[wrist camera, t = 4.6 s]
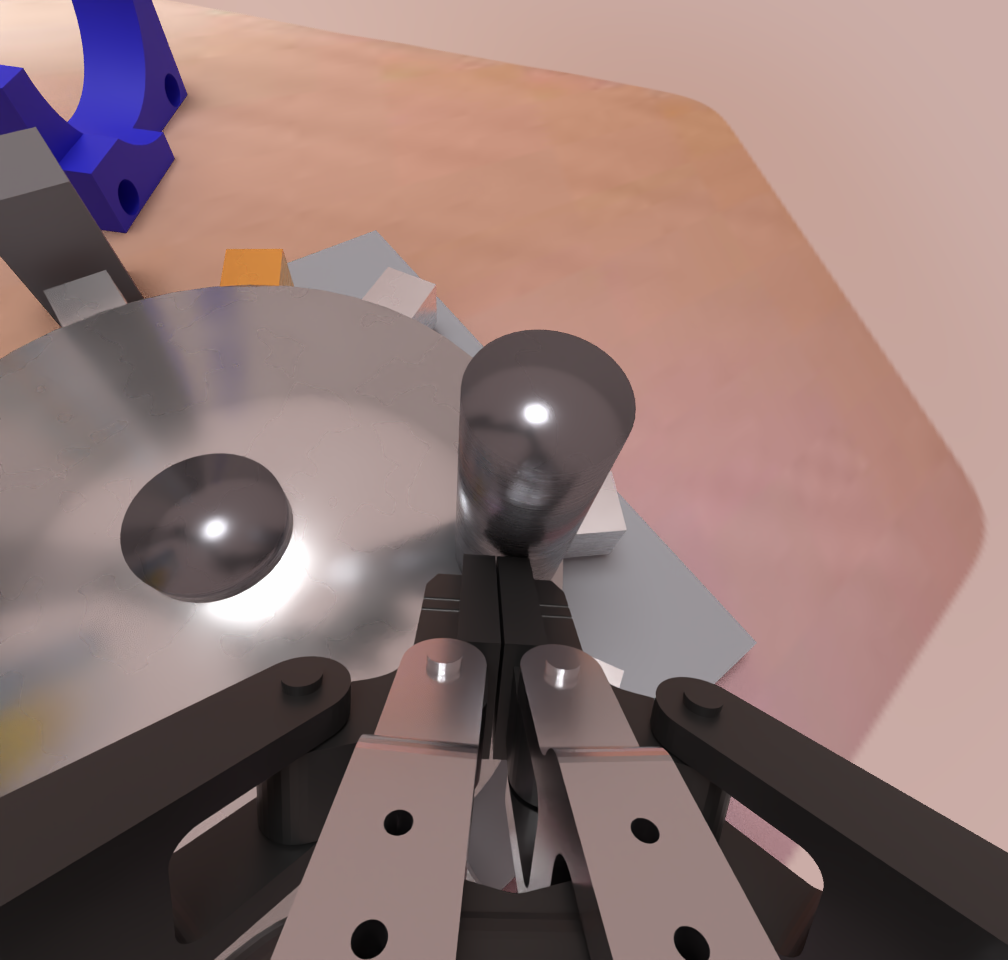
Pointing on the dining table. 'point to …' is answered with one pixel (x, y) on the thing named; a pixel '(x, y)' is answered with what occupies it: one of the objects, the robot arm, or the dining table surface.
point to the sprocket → (268, 493)
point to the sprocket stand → (358, 265)
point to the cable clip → (108, 110)
